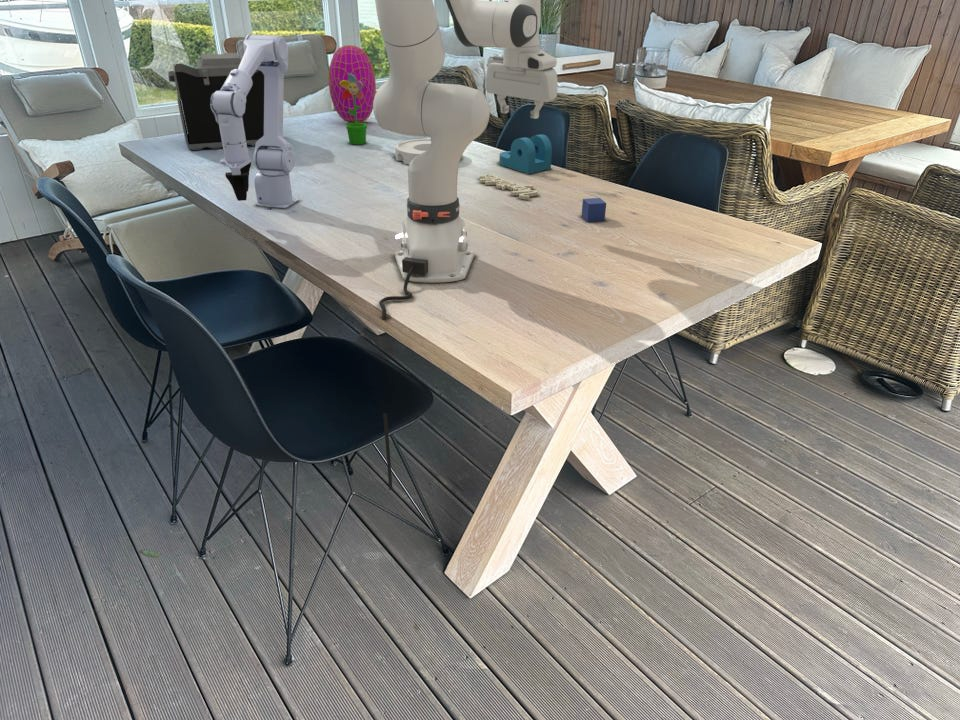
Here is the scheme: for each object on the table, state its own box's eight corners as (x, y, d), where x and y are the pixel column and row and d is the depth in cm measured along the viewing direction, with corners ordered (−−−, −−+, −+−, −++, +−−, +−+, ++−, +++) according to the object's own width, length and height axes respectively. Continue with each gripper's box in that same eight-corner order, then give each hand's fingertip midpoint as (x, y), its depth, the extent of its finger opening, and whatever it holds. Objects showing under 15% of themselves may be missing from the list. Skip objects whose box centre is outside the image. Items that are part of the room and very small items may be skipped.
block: (598, 215, 192) (599, 197, 189) (604, 220, 188) (606, 203, 185) (581, 216, 191) (582, 198, 188) (587, 222, 187) (589, 204, 184)
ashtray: (454, 167, 232) (454, 155, 230) (388, 164, 235) (387, 152, 233) (466, 151, 252) (466, 140, 250) (404, 148, 255) (404, 137, 253)
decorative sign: (550, 191, 207) (525, 197, 202) (550, 194, 207) (525, 200, 202) (495, 172, 225) (471, 176, 220) (495, 174, 225) (471, 179, 220)
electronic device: (279, 131, 276) (269, 50, 261) (287, 144, 259) (276, 57, 243) (182, 138, 265) (165, 53, 250) (183, 151, 247) (164, 61, 232)
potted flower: (342, 144, 260) (336, 73, 247) (351, 139, 266) (346, 70, 254) (365, 146, 257) (360, 74, 245) (374, 141, 264) (369, 71, 251)
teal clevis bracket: (550, 168, 233) (552, 137, 227) (527, 173, 227) (529, 141, 222) (515, 157, 245) (516, 127, 239) (493, 162, 239) (493, 131, 234)
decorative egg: (362, 116, 305) (357, 42, 290) (386, 123, 292) (382, 46, 277) (324, 121, 294) (316, 45, 279) (347, 129, 281) (340, 49, 266)
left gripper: (220, 136, 176) (229, 188, 183) (214, 149, 164) (224, 205, 171) (248, 135, 177) (256, 187, 184) (245, 148, 165) (253, 203, 172)
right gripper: (480, 54, 173) (480, 111, 180) (548, 63, 162) (545, 123, 169) (495, 51, 177) (494, 107, 184) (562, 60, 166) (558, 119, 174)
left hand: (243, 195), depth 178 cm, fingers open, 7 cm apart
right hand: (519, 115), depth 177 cm, fingers open, 8 cm apart
